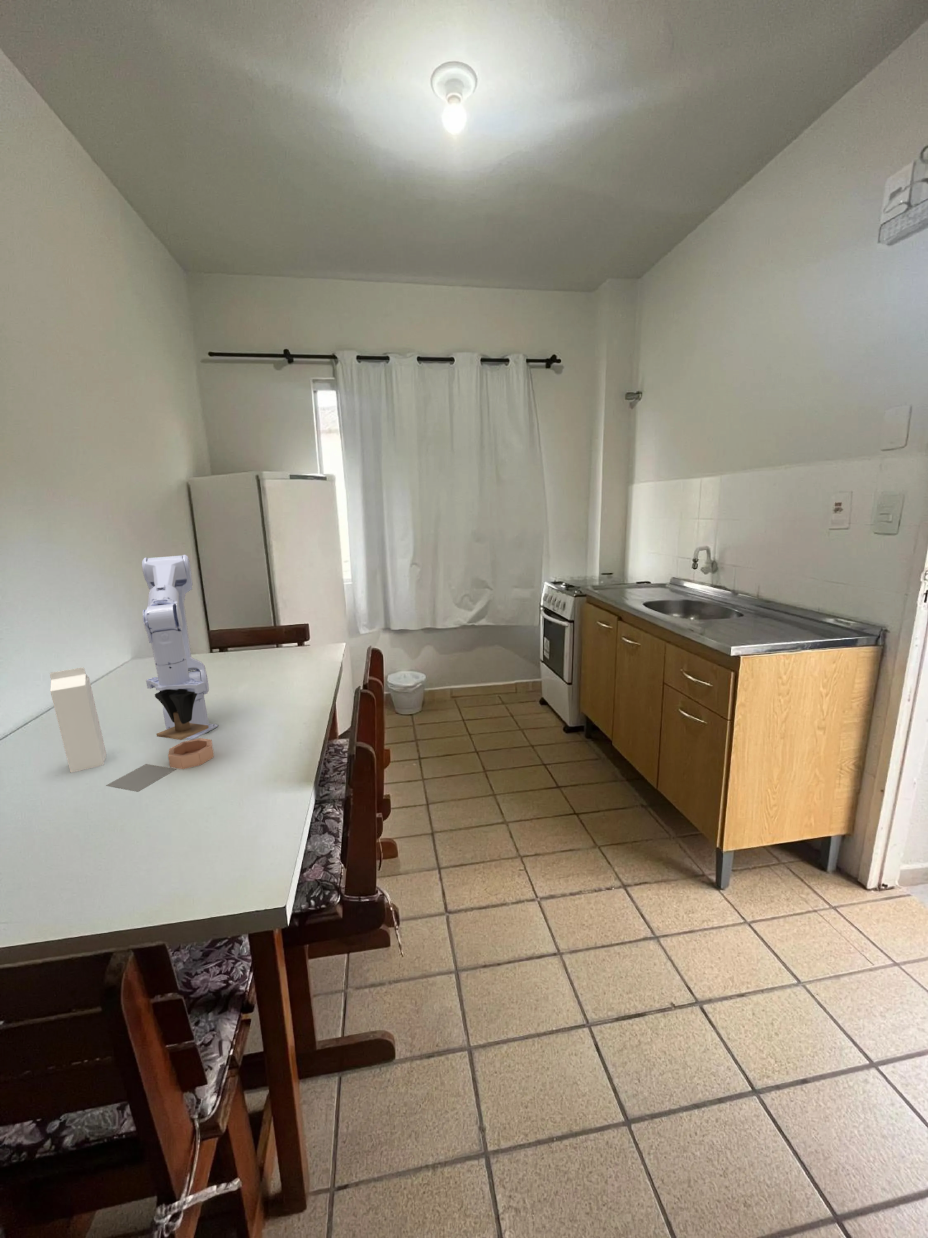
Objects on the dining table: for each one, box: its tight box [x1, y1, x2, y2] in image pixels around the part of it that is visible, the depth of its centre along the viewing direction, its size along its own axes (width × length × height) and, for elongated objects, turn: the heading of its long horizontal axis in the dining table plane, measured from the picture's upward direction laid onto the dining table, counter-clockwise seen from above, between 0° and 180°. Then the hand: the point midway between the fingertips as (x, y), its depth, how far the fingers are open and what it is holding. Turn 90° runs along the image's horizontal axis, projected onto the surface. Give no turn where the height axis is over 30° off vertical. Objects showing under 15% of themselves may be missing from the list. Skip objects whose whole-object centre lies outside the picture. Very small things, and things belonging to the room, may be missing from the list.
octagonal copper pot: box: [167, 737, 215, 770], centre depth 112 cm, size 8×8×3 cm
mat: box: [105, 763, 178, 793], centre depth 106 cm, size 9×9×1 cm
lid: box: [155, 711, 209, 741], centre depth 110 cm, size 7×7×5 cm
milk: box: [49, 666, 108, 774], centre depth 111 cm, size 6×6×22 cm
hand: (182, 721), depth 110 cm, fingers closed on lid
